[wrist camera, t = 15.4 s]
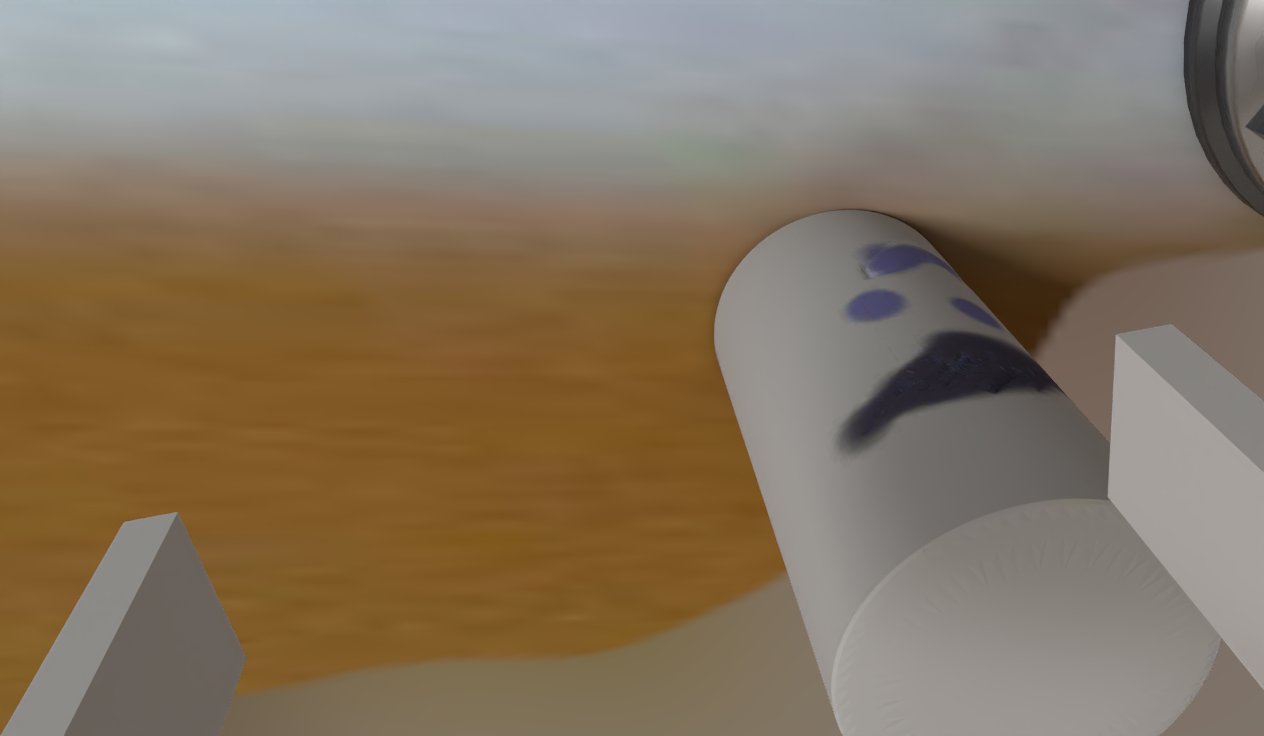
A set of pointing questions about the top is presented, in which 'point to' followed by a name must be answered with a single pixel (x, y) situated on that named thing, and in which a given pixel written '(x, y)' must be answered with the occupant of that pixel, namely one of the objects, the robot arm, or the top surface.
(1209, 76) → the shiny round metal plate
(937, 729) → the container
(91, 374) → the top surface
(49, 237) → the top surface
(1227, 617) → the robot arm
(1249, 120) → the silver disc
